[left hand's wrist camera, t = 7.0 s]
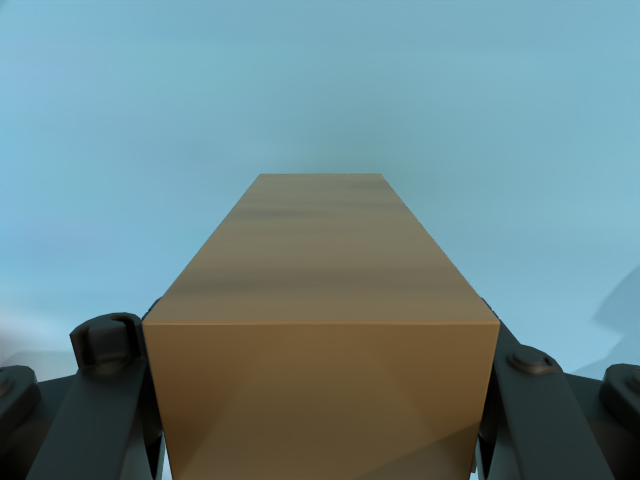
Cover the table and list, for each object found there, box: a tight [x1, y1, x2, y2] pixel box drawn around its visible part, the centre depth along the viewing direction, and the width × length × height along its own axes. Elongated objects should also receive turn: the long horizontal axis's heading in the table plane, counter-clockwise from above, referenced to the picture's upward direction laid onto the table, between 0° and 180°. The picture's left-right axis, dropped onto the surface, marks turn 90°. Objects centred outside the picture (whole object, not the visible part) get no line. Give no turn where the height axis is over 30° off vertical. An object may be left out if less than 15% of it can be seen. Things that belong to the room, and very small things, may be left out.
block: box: [142, 174, 500, 480], centre depth 12 cm, size 6×5×12 cm
